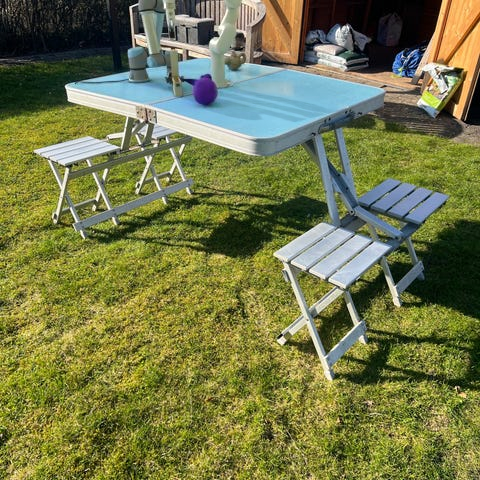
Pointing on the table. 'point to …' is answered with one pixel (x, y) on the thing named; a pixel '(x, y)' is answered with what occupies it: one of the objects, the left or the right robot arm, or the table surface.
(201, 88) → the toy
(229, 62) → the teapot
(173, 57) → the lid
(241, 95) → the table surface
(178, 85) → the cream suitcase
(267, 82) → the table surface
